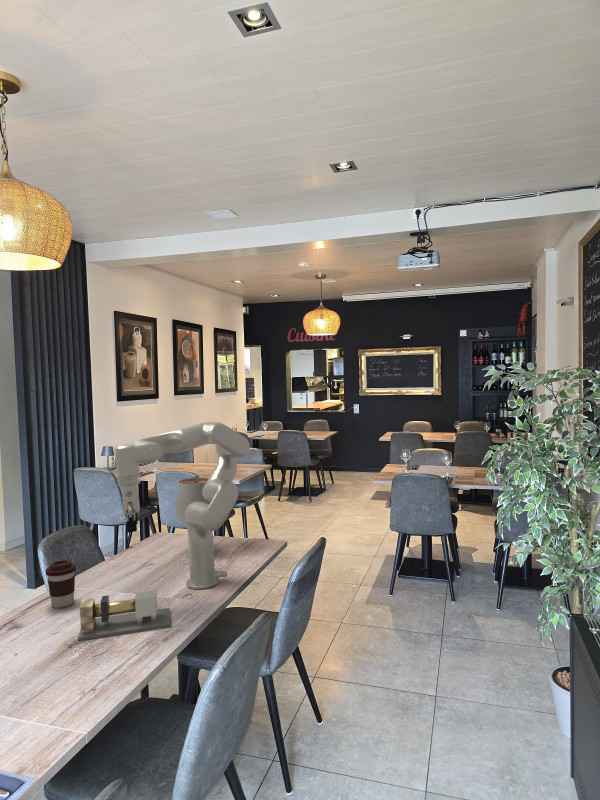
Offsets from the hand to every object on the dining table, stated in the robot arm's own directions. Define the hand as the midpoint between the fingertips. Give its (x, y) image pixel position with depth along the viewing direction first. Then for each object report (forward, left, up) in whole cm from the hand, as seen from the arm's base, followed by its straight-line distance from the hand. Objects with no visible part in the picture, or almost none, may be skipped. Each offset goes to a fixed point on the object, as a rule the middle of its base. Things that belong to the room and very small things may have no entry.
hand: (132, 528), depth 188 cm
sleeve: (-4, +15, -28) cm, 32 cm away
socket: (+14, +15, -28) cm, 34 cm away
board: (+3, +15, -28) cm, 32 cm away
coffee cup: (+26, -11, -28) cm, 39 cm away
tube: (+6, +15, -24) cm, 29 cm away
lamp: (-25, -49, -28) cm, 61 cm away
